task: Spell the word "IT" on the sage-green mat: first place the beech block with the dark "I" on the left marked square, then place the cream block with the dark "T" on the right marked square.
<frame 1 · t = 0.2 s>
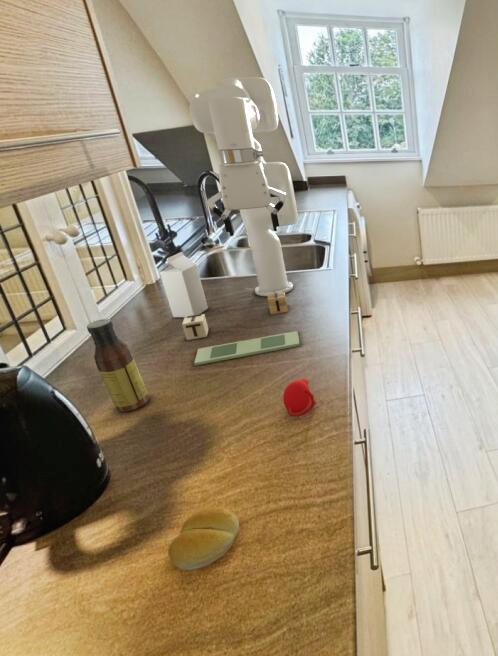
hand: (254, 232, 108), 31 cm above the countertop, tool pointing down, fingers open, 9 cm apart
letter I: (279, 310, 142), on the countertop
letter T: (197, 334, 128), on the countertop
word mat: (249, 348, 119), on the countertop
sauce bottle: (132, 405, 97), on the countertop
milk carton: (191, 313, 142), on the countertop
cap: (301, 409, 94), on the countertop
bread roll: (207, 543, 65), on the countertop
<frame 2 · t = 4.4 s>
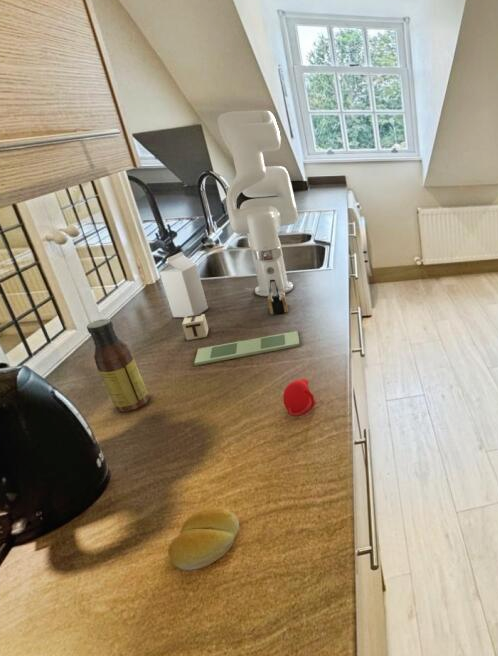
hand: (278, 308, 142), 0 cm above the countertop, tool pointing down, fingers closed on letter I, 5 cm apart
letter I: (279, 310, 142), on the countertop, touching gripper
everything else where it was.
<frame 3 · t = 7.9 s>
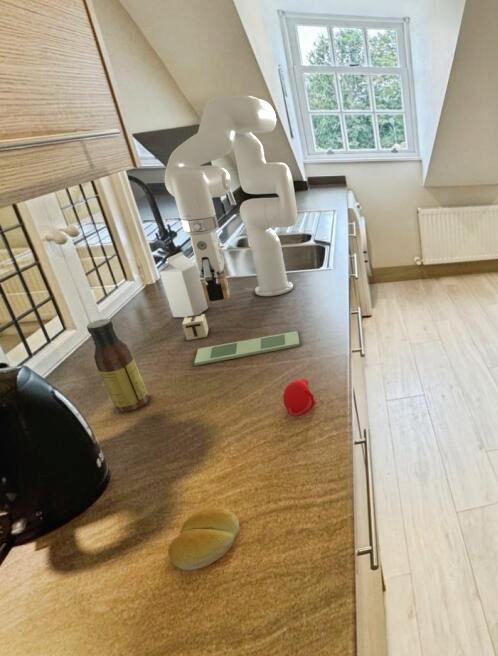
hand: (218, 295, 114), 15 cm above the countertop, tool pointing down, fingers closed on letter I, 5 cm apart
letter I: (218, 296, 114), point 15 cm above the countertop, touching gripper
everything else where it was.
when the fingers open (1 cm above the countertop, at t = 11.5 s): letter I stays where it is, resting on word mat.
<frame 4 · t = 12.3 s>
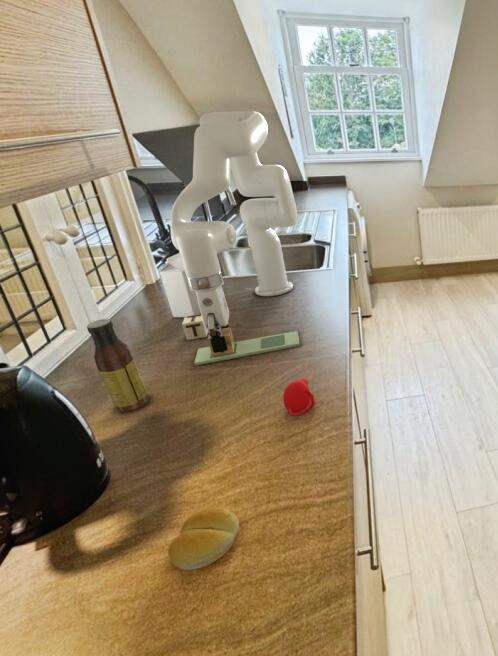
hand: (222, 342, 116), 3 cm above the countertop, tool pointing down, fingers open, 9 cm apart
letter I: (223, 350, 117), point 1 cm above the countertop, touching word mat
everything else where it was.
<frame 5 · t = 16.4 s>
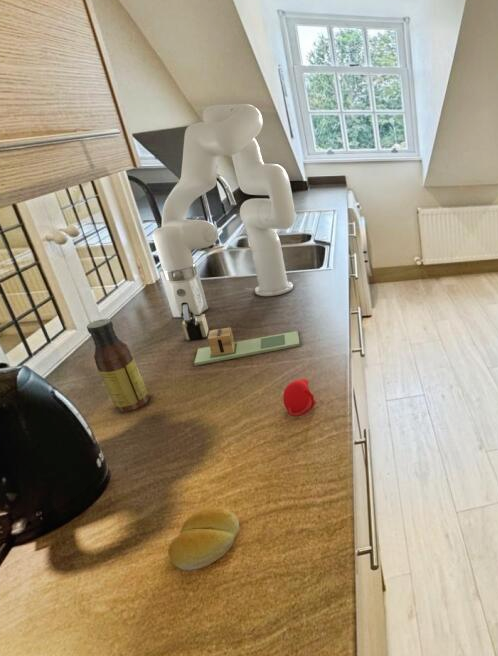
hand: (197, 333, 127), 0 cm above the countertop, tool pointing down, fingers closed on letter T, 5 cm apart
letter T: (197, 334, 128), on the countertop, touching gripper
everything else where it was.
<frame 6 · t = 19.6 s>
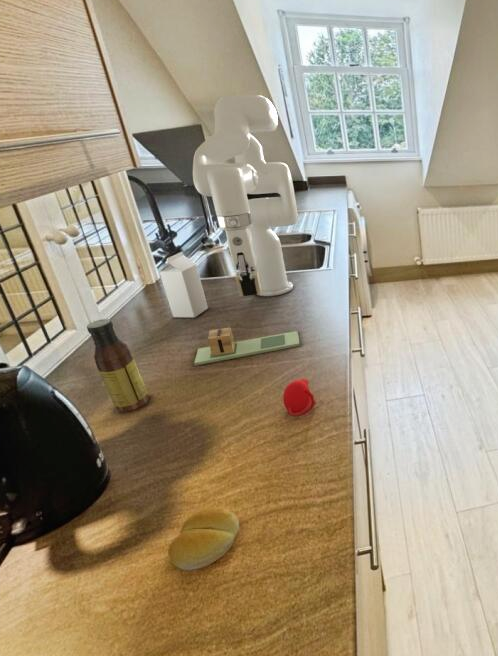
hand: (250, 290, 116), 15 cm above the countertop, tool pointing down, fingers closed on letter T, 5 cm apart
letter T: (250, 291, 116), point 15 cm above the countertop, touching gripper
everything else where it was.
when the fingers open (1 cm above the countertop, at t = 23.3 s): letter T stays where it is, resting on word mat.
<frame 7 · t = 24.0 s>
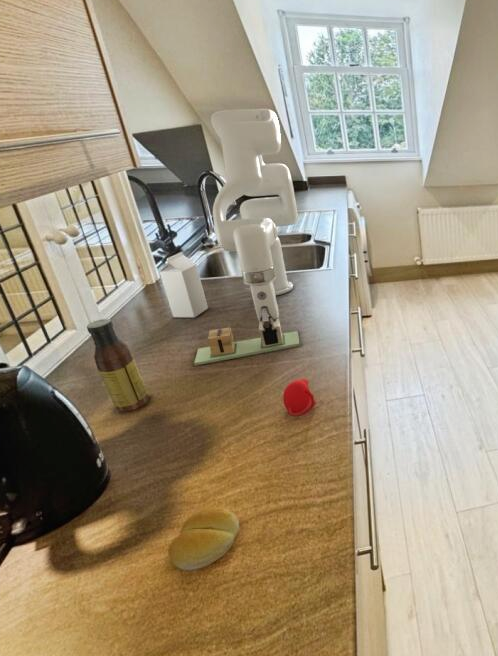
hand: (271, 335, 120), 3 cm above the countertop, tool pointing down, fingers open, 9 cm apart
letter T: (272, 341, 120), point 1 cm above the countertop, touching word mat
everything else where it was.
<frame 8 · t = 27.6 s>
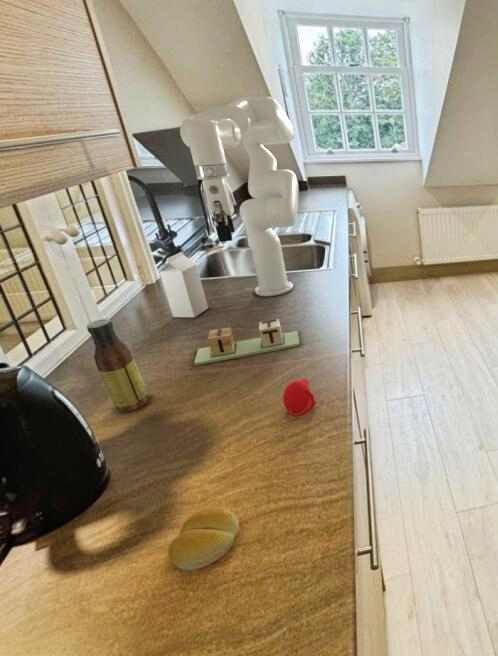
hand: (227, 236, 123), 26 cm above the countertop, tool pointing down, fingers open, 9 cm apart
nothing on the countertop moved.
at the end: letter I 0.0 cm from the target spot on the word mat, point 0.9 cm above the word mat's base; letter T 0.0 cm from the target spot on the word mat, point 0.9 cm above the word mat's base; letter T tilted 0° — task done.
